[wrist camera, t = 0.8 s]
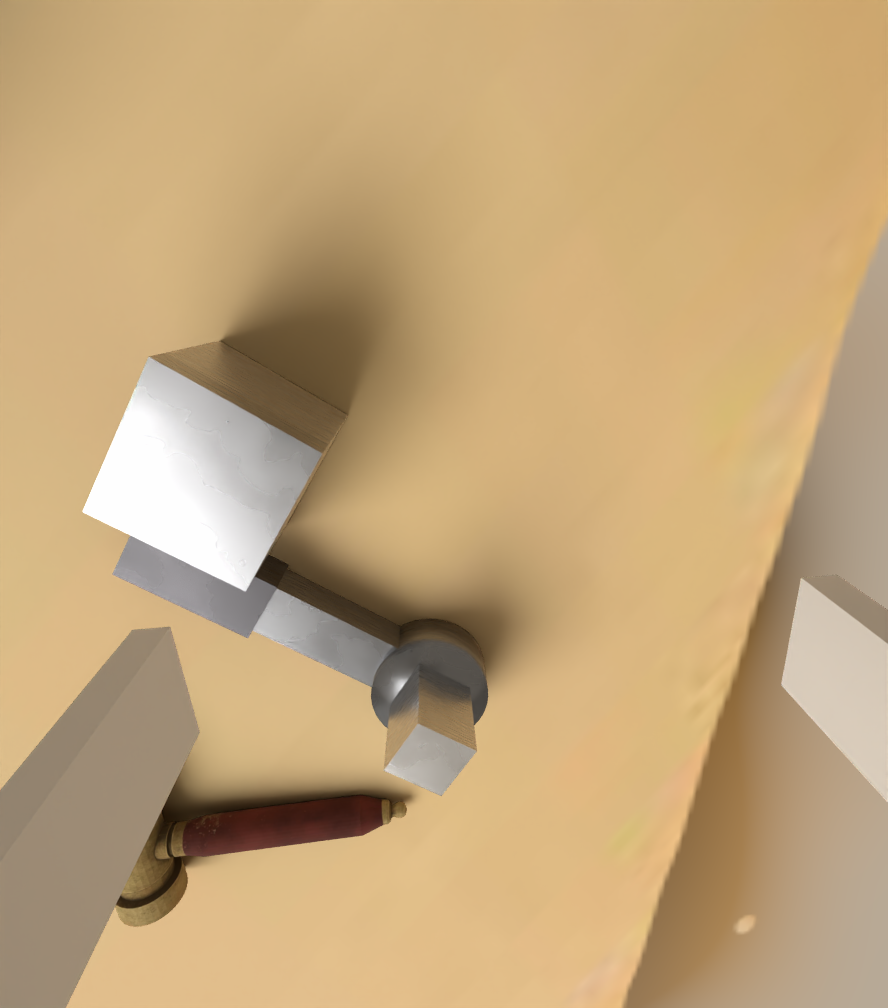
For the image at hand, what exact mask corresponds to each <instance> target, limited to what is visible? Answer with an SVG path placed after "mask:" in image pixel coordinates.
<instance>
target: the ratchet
mask: <svg viewBox="0 0 888 1008" xmlns="http://www.w3.org/2000/svg"><path fill="white" fill-rule="evenodd" d="M287 567H288V564H286V563H284V562H282V561H280V560H278V559H276V558H274V557H272V556H270V555H268V556H267V558H266V559H265V561H264V563H263V564H262V566H261V567H260V569H259V571H258V572H257V574H256V576H255V577H254V579H253V581H252V582H251V584H250V585H249V587H248V589H247V590H246V591H243V590H241V589H239V588H237V587H235V586H233V585H231V584H229V583H227V582H225V581H223V580H221V579H219V578H217V577H215V576H213V575H211V574H209V573H207V572H205V571H203V570H200V569H198V568H196V567H194V566H192V565H190V564H188V563H186V562H184V561H182V560H180V559H178V558H176V557H174V556H172V555H170V554H168V553H166V552H164V551H162V550H159V549H157V548H155V547H153V546H151V545H149V544H147V543H145V542H143V541H141V540H139V539H137V538H135V537H133V536H131V535H130V537H129V539H128V542H127V544H126V546H125V548H124V550H123V552H122V555H121V557H120V559H119V561H118V563H117V565H116V568H115V570H114V572H113V574H112V575H115V576H117V577H119V578H121V579H123V580H125V581H127V582H129V583H132V584H134V585H136V586H138V587H140V588H142V589H144V590H146V591H149V592H151V593H153V594H155V595H157V596H159V597H161V598H163V599H166V600H168V601H170V602H172V603H174V604H176V605H178V606H180V607H183V608H185V609H187V610H189V611H191V612H193V613H195V614H197V615H200V616H202V617H204V618H206V619H208V620H210V621H212V622H214V623H217V624H219V625H221V626H223V627H225V628H227V629H229V630H231V631H234V632H236V633H238V634H240V635H242V636H244V637H246V638H248V637H249V636H250V634H251V632H252V631H254V632H256V633H259V634H261V635H263V636H265V637H267V638H269V639H271V640H273V641H275V642H278V643H280V644H282V645H284V646H286V647H288V648H290V649H292V650H294V651H297V652H299V653H301V654H303V655H305V656H307V657H309V658H311V659H313V660H315V661H318V662H320V663H322V664H324V665H326V666H328V667H330V668H332V669H334V670H337V671H339V672H341V673H343V674H345V675H347V676H349V677H351V678H353V679H356V680H358V681H360V682H362V683H364V684H366V685H368V686H370V687H372V690H371V700H372V705H373V709H374V711H375V713H376V715H377V717H378V718H379V720H380V721H381V722H382V724H383V725H384V726H385V727H387V728H388V730H387V741H386V752H385V763H384V771H386V772H388V773H391V774H393V775H395V776H397V777H400V778H402V779H404V780H406V781H409V782H411V783H413V784H415V785H418V786H420V787H422V788H424V789H427V790H429V791H431V792H434V793H436V794H438V795H440V796H442V795H443V793H444V792H445V791H446V789H447V788H448V787H449V786H450V784H451V783H452V782H453V781H454V779H455V778H456V777H457V776H458V774H459V773H460V772H461V770H462V769H463V768H464V767H465V765H466V764H467V763H468V762H469V760H470V759H471V758H472V757H473V755H474V754H475V753H476V751H477V748H476V739H475V730H474V725H475V724H476V723H477V722H478V721H479V719H480V718H481V716H482V715H483V713H484V711H485V708H486V705H487V700H488V688H487V681H486V674H485V668H484V661H483V655H482V652H481V649H480V647H479V645H478V643H477V642H476V640H475V639H474V638H473V637H472V635H471V634H470V633H468V632H467V631H466V630H465V629H463V628H461V627H460V626H458V625H456V624H454V623H451V622H448V621H444V620H439V619H422V620H416V621H412V622H409V623H407V624H404V625H402V626H399V625H397V624H395V623H393V622H391V621H389V620H387V619H385V618H383V617H381V616H379V615H377V614H375V613H373V612H371V611H369V610H367V609H365V608H363V607H361V606H359V605H357V604H355V603H353V602H351V601H349V600H347V599H345V598H343V597H341V596H339V595H337V594H335V593H333V592H331V591H329V590H327V589H325V588H323V587H321V586H319V585H317V584H316V583H314V582H312V581H310V580H308V579H306V578H304V577H302V576H300V575H298V574H296V573H294V572H292V571H290V570H288V569H287Z"/></svg>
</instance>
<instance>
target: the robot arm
mask: <svg viewBox="0 0 888 1008" xmlns="http://www.w3.org/2000/svg"><path fill="white" fill-rule="evenodd" d="M781 685H782V686H783V688H784V689H785V690H786V691H787V692H788V693H789V694H790V695H791V696H792V697H793V699H794V700H795V701H796V702H797V703H798V704H799V705H800V706H801V707H802V708H803V710H804V711H805V712H806V713H807V714H808V715H809V716H810V717H811V718H812V720H814V722H815V723H816V724H817V725H818V726H819V727H820V728H821V729H822V730H823V732H824V733H825V734H826V735H827V736H828V737H829V738H830V739H831V740H832V742H833V743H834V744H835V745H836V746H837V747H838V748H839V749H840V750H841V751H842V753H843V754H844V755H845V756H846V757H847V758H848V759H849V760H850V761H851V762H852V764H854V766H855V767H856V768H857V769H858V770H859V771H860V772H861V773H862V775H863V776H864V777H865V778H866V779H867V780H868V781H869V782H870V783H871V785H872V786H873V787H874V788H875V789H876V790H877V791H878V792H879V793H880V794H881V795H882V797H883V798H884V799H885V800H886V801H887V802H888V610H887V609H886V608H884V607H883V606H882V605H880V604H879V603H877V602H876V601H874V600H873V599H871V598H870V597H869V596H867V595H865V594H864V593H863V592H861V591H860V590H858V589H857V588H856V587H854V586H853V585H851V584H850V583H848V582H847V581H845V580H844V579H842V578H841V577H840V576H838V575H830V576H817V577H804V578H801V582H800V588H799V592H798V598H797V603H796V609H795V614H794V620H793V624H792V631H791V635H790V641H789V646H788V652H787V657H786V662H785V667H784V673H783V679H782V684H781ZM199 733H200V732H199V728H198V725H197V721H196V717H195V714H194V710H193V707H192V703H191V700H190V696H189V692H188V689H187V685H186V682H185V678H184V674H183V671H182V667H181V664H180V660H179V657H178V653H177V649H176V646H175V642H174V639H173V635H172V632H171V628H170V627H163V628H150V629H137V630H132V631H131V632H130V634H129V635H128V636H127V637H126V638H125V640H124V641H123V642H122V643H121V645H120V646H119V647H118V648H117V649H116V651H115V652H114V653H113V654H112V655H111V657H110V658H109V659H108V660H107V662H106V663H105V664H104V665H103V666H102V668H101V669H100V670H99V671H98V672H97V674H96V675H95V676H94V677H93V678H92V680H91V681H90V682H89V683H88V685H87V686H86V687H85V688H84V689H83V691H82V692H81V693H80V694H79V695H78V697H77V698H76V699H75V700H74V702H73V703H72V704H71V705H70V706H69V708H68V709H67V710H66V711H65V712H64V714H63V715H62V716H61V717H60V718H59V720H58V721H57V722H56V723H55V725H54V726H53V727H52V728H51V729H50V731H49V732H48V733H47V734H46V735H45V737H44V738H43V739H42V740H41V741H40V743H39V744H38V745H37V746H36V748H35V749H34V750H33V751H32V752H31V754H30V755H29V756H28V757H27V758H26V760H25V761H24V762H23V763H22V765H21V766H20V767H19V768H18V769H17V771H16V772H15V773H14V774H13V775H12V777H11V778H10V779H9V780H8V781H7V783H6V784H5V785H4V786H3V788H2V789H1V790H0V1008H66V1006H67V1004H68V1002H69V1000H70V998H71V996H72V994H73V992H74V990H75V988H76V985H77V983H78V981H79V979H80V977H81V975H82V973H83V971H84V969H85V967H86V965H87V963H88V961H89V959H90V957H91V955H92V953H93V951H94V948H95V946H96V944H97V942H98V940H99V938H100V936H101V934H102V932H103V930H104V928H105V926H106V924H107V922H108V920H109V918H110V916H111V914H112V911H113V909H114V907H115V905H116V903H117V901H118V899H119V897H120V895H121V893H122V891H123V889H124V887H125V885H126V883H127V881H128V879H129V877H130V875H131V872H132V870H133V868H134V866H135V864H136V862H137V860H138V858H139V856H140V854H141V852H142V850H143V848H144V846H145V844H146V842H147V840H148V838H149V835H150V833H151V831H152V829H153V827H154V825H155V823H156V821H157V819H158V817H159V815H160V813H161V811H162V809H163V807H164V805H165V803H166V801H167V798H168V796H169V794H170V792H171V790H172V788H173V786H174V784H175V782H176V780H177V778H178V776H179V774H180V772H181V770H182V768H183V766H184V764H185V761H186V759H187V757H188V755H189V753H190V751H191V749H192V747H193V745H194V743H195V741H196V739H197V737H198V735H199Z"/></svg>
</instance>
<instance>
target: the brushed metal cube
mask: <svg viewBox="0 0 888 1008" xmlns="http://www.w3.org/2000/svg"><path fill="white" fill-rule="evenodd" d="M347 416H348V415H347V414H345V413H344V412H342V411H340V410H339V409H337V408H335V407H333V406H332V405H330V404H328V403H326V402H325V401H323V400H321V399H320V398H318V397H316V396H314V395H313V394H311V393H309V392H307V391H306V390H304V389H302V388H301V387H299V386H297V385H295V384H294V383H292V382H290V381H288V380H287V379H285V378H283V377H282V376H280V375H278V374H276V373H275V372H273V371H271V370H269V369H268V368H266V367H264V366H263V365H261V364H259V363H257V362H256V361H254V360H252V359H250V358H249V357H247V356H245V355H244V354H242V353H240V352H238V351H237V350H235V349H233V348H231V347H230V346H228V345H226V344H225V343H223V342H221V341H217V342H212V343H208V344H203V345H199V346H194V347H190V348H185V349H181V350H176V351H172V352H167V353H163V354H158V355H154V356H149V357H148V360H147V362H146V364H145V367H144V369H143V371H142V374H141V376H140V378H139V381H138V383H137V385H136V388H135V390H134V392H133V395H132V397H131V399H130V402H129V404H128V407H127V409H126V411H125V414H124V416H123V418H122V421H121V423H120V425H119V428H118V430H117V432H116V435H115V437H114V439H113V442H112V444H111V446H110V449H109V451H108V453H107V456H106V458H105V460H104V463H103V465H102V467H101V470H100V472H99V474H98V477H97V479H96V481H95V484H94V486H93V488H92V491H91V493H90V495H89V498H88V500H87V503H86V505H85V507H84V510H83V512H84V513H86V514H88V515H90V516H92V517H94V518H96V519H98V520H100V521H102V522H104V523H106V524H108V525H110V526H112V527H114V528H116V529H119V530H121V531H123V532H125V533H127V534H129V535H131V536H133V537H135V538H137V539H139V540H141V541H143V542H145V543H147V544H149V545H151V546H153V547H155V548H157V549H159V550H162V551H164V552H166V553H168V554H170V555H172V556H174V557H176V558H178V559H180V560H182V561H184V562H186V563H188V564H190V565H192V566H194V567H196V568H198V569H200V570H203V571H205V572H207V573H209V574H211V575H213V576H215V577H217V578H219V579H221V580H223V581H225V582H227V583H229V584H231V585H233V586H235V587H237V588H239V589H241V590H243V591H246V590H247V589H248V587H249V585H250V584H251V582H252V581H253V579H254V577H255V576H256V574H257V572H258V571H259V569H260V567H261V566H262V564H263V563H264V561H265V559H266V558H267V556H268V554H269V553H270V551H271V549H272V548H273V546H274V545H275V543H276V541H277V540H278V538H279V536H280V535H281V533H282V532H283V530H284V528H285V527H286V525H287V523H288V521H289V520H290V518H291V516H292V514H293V513H294V511H295V509H296V507H297V505H298V504H299V502H300V500H301V498H302V496H303V495H304V493H305V491H306V489H307V487H308V486H309V484H310V482H311V480H312V479H313V477H314V475H315V473H316V471H317V470H318V468H319V466H320V464H321V462H322V461H323V459H324V457H325V455H326V453H327V452H328V450H329V448H330V446H331V444H332V443H333V441H334V439H335V437H336V436H337V434H338V432H339V430H340V428H341V427H342V425H343V423H344V421H345V419H346V418H347Z"/></svg>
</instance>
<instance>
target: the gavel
mask: <svg viewBox="0 0 888 1008" xmlns="http://www.w3.org/2000/svg"><path fill="white" fill-rule="evenodd" d="M406 811H407V808H406V805H405V803H403V802H397V803H395V804H393V805H391V804H390V802H389V800H387V799H383V800H381V799H377V798H373V797H369V796H364V795H356V796H347V797H340V798H332V799H324V800H317V801H309V802H301V803H293V804H286V805H278V806H270V807H263V808H255V809H247V810H239V811H232V812H224V813H216V814H208V815H205V816H202V817H199V818H195V819H192V820H188V821H180V822H178V823H177V822H169V823H165V821H164V818H163V815H162V812H161V813H160V815H159V817H158V819H157V821H156V823H155V825H154V827H153V829H152V831H151V833H150V835H149V838H148V840H147V842H146V844H145V846H144V848H143V850H142V852H141V854H140V856H139V858H138V860H137V862H136V864H135V866H134V868H133V870H132V872H131V875H130V877H129V879H128V881H127V883H126V885H125V887H124V889H123V891H122V893H121V895H120V897H119V899H118V901H117V903H116V905H115V908H116V910H117V913H118V915H119V918H120V920H121V921H122V922H123V923H124V924H126V925H128V926H133V927H139V926H144V925H148V924H151V923H153V922H155V921H157V920H159V919H161V918H162V917H164V916H165V915H166V914H168V913H169V912H170V911H171V910H172V909H173V908H174V907H175V906H176V905H177V904H178V903H179V901H180V900H181V898H182V897H183V895H184V893H185V890H186V887H187V883H188V877H187V873H186V870H185V866H184V863H183V860H182V857H181V856H186V855H188V856H212V855H220V854H227V853H235V852H242V851H250V850H257V849H265V848H272V847H280V846H287V845H295V844H302V843H310V842H317V841H324V840H332V839H339V838H347V837H354V836H362V835H365V834H367V833H369V832H370V831H372V830H374V829H376V828H378V827H380V826H382V825H384V824H388V823H390V821H391V818H392V817H397V818H402V817H404V816H405V815H406Z"/></svg>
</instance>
